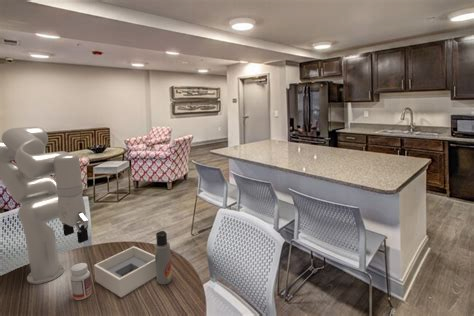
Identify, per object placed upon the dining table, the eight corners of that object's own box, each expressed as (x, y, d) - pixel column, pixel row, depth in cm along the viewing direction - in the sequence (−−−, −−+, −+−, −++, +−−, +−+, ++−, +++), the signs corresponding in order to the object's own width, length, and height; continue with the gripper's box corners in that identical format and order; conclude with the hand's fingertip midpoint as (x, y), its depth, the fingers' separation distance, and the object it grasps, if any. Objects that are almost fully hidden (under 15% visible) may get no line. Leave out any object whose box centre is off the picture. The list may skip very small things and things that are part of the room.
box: (95, 281, 112) (93, 265, 111) (135, 260, 127) (134, 246, 125) (121, 297, 102) (119, 279, 101) (161, 273, 117) (159, 257, 116)
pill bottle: (90, 287, 109) (86, 260, 106) (94, 295, 104) (90, 267, 102) (71, 294, 105) (67, 266, 103) (75, 303, 100) (71, 273, 98)
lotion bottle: (174, 278, 114) (172, 230, 110) (165, 286, 108) (162, 237, 105) (163, 274, 116) (160, 228, 112) (153, 282, 111) (150, 234, 107)
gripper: (46, 189, 99) (53, 235, 102) (71, 198, 89) (77, 249, 92) (69, 184, 105) (74, 228, 108) (94, 192, 95) (100, 240, 98)
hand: (76, 237), depth 100 cm, fingers open, 9 cm apart
